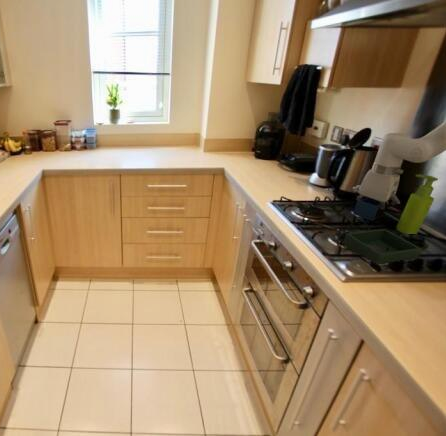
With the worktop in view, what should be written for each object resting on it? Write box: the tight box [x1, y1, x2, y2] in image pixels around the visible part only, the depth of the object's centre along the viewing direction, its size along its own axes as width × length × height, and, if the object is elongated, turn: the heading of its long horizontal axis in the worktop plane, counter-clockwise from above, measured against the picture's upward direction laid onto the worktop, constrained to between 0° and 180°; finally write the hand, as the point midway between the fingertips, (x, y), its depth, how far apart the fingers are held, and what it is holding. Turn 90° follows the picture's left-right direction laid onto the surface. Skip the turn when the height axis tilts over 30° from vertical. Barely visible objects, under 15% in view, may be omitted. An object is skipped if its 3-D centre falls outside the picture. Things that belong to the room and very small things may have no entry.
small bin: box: [352, 197, 382, 222], centre depth 120 cm, size 7×7×6 cm
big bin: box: [342, 228, 423, 264], centre depth 99 cm, size 14×12×4 cm
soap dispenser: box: [395, 173, 439, 235], centre depth 107 cm, size 6×7×20 cm
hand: (367, 213), depth 121 cm, fingers closed on small bin, 6 cm apart
